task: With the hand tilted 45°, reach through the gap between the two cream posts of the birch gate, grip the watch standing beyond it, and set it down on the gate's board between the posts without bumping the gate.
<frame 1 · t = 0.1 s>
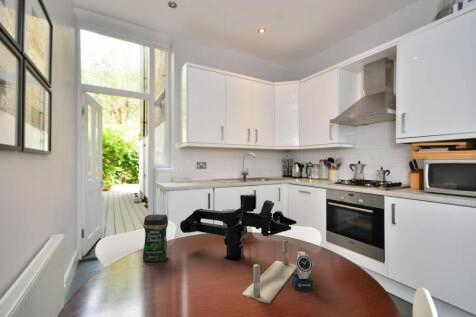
hand: (293, 225, 89), 17 cm above the table, tool horizontal, fingers open, 9 cm apart
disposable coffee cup: (230, 237, 127), on the table
watch: (302, 287, 76), on the table
coffee jar: (155, 259, 98), on the table
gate: (273, 280, 81), on the table
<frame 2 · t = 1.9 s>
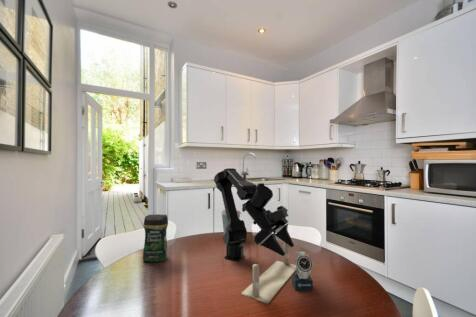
hand: (288, 250, 78), 11 cm above the table, tool tilted 45°, fingers open, 9 cm apart
nothing on the table moved.
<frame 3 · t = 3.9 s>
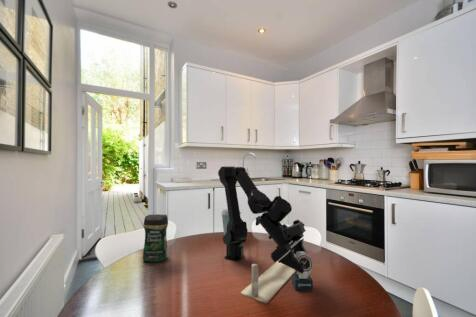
hand: (306, 267, 75), 7 cm above the table, tool tilted 45°, fingers closed on watch, 8 cm apart
watch: (302, 287, 76), on the table, touching gripper
everything else where it was.
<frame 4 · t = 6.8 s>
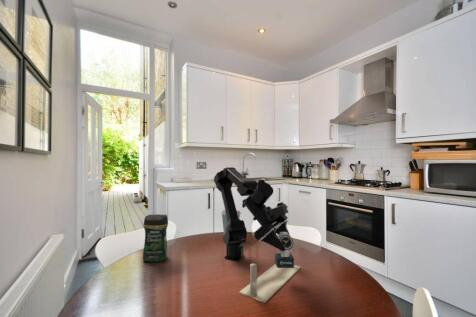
hand: (288, 246, 79), 12 cm above the table, tool tilted 45°, fingers closed on watch, 8 cm apart
watch: (284, 265, 79), point 5 cm above the table, touching gripper
everything else where it was.
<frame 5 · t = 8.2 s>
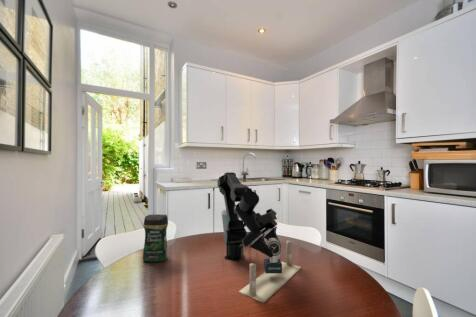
hand: (276, 252, 81), 9 cm above the table, tool tilted 45°, fingers closed on watch, 8 cm apart
watch: (272, 271, 81), point 3 cm above the table, touching gripper
everything else where it was.
when the fingers open (8 cm above the table, at t = 9.5 s): watch drops 1 cm, resting on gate.
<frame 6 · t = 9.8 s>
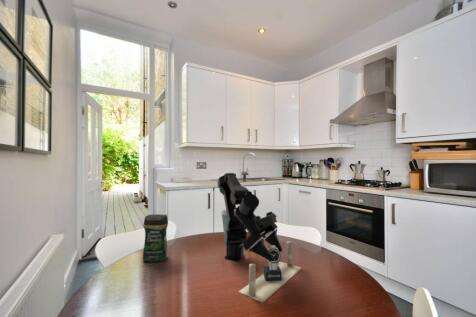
hand: (277, 255, 80), 8 cm above the table, tool tilted 45°, fingers open, 9 cm apart
watch: (272, 278, 81), resting on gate
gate: (273, 280, 81), on the table, touching watch
everything else where it was.
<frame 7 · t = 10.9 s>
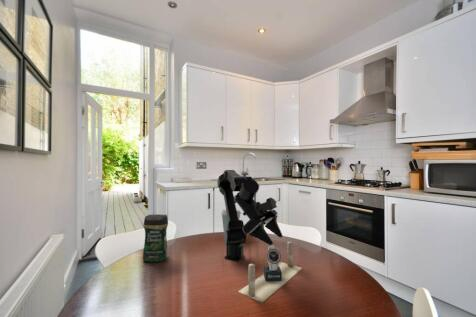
hand: (277, 240, 80), 14 cm above the table, tool tilted 45°, fingers open, 9 cm apart
nothing on the table moved.
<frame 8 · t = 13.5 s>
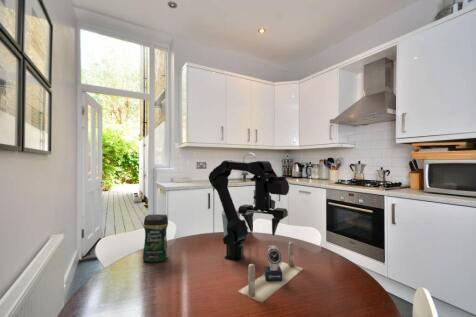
hand: (262, 233, 90), 13 cm above the table, tool pointing down, fingers open, 9 cm apart
nothing on the table moved.
at the end: watch inside the target area on the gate (0.4 cm from its centre), point 0.6 cm above the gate's base; watch tilted 0°; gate moved 0.7 cm from its start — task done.
